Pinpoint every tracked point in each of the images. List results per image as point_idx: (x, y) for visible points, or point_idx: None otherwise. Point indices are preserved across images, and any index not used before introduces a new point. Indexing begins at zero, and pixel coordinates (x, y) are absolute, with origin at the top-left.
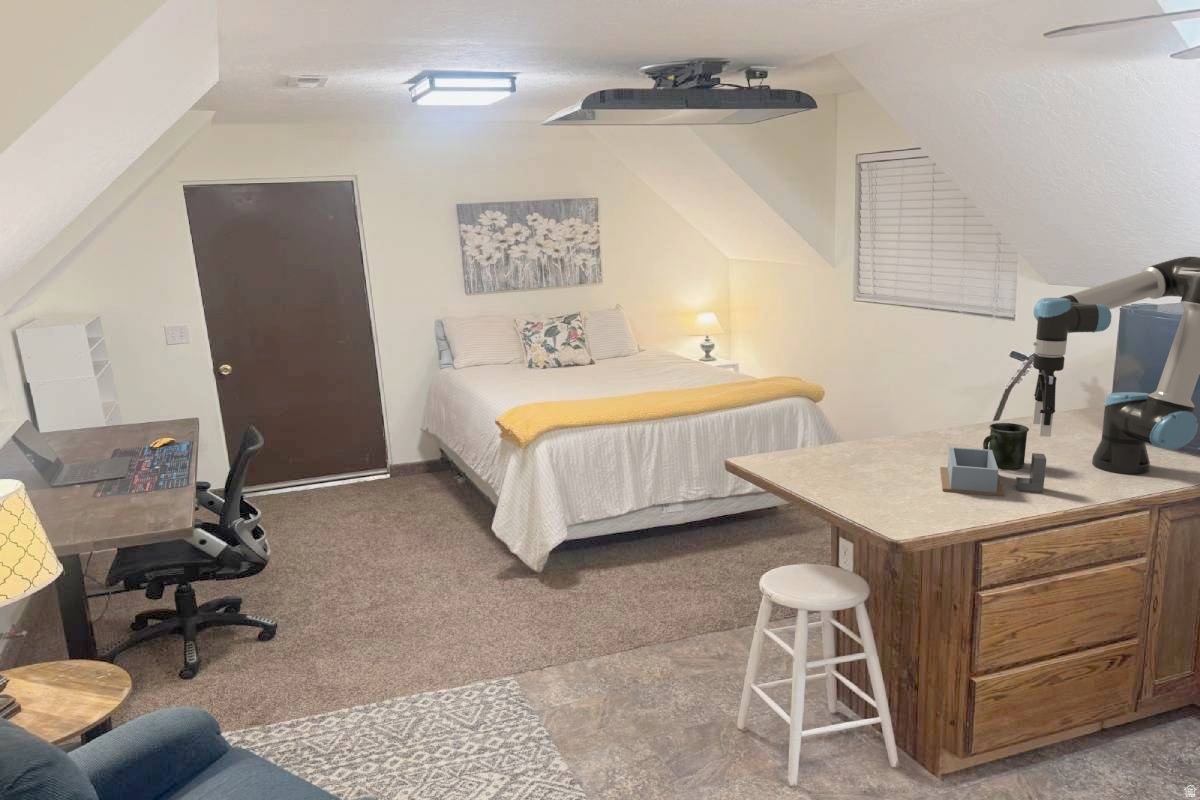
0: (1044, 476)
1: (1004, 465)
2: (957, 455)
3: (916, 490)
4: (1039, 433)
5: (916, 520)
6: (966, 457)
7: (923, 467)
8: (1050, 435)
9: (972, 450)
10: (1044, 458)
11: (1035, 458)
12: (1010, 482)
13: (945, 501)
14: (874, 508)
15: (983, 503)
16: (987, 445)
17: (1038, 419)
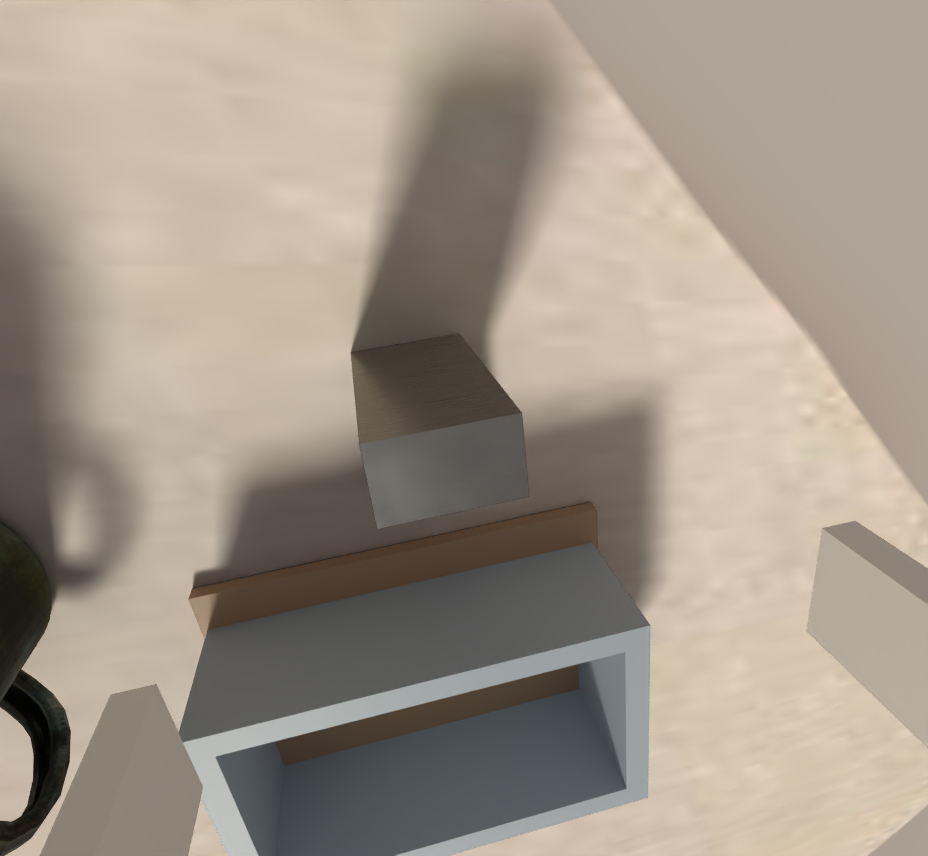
0: (484, 365)
1: (43, 590)
2: (272, 829)
3: None
4: (835, 648)
5: None
6: (259, 788)
7: None
8: (872, 532)
9: (245, 815)
10: (512, 428)
11: (528, 489)
12: (329, 507)
13: (718, 672)
14: (828, 801)
15: (710, 558)
16: (57, 789)
17: (160, 814)
